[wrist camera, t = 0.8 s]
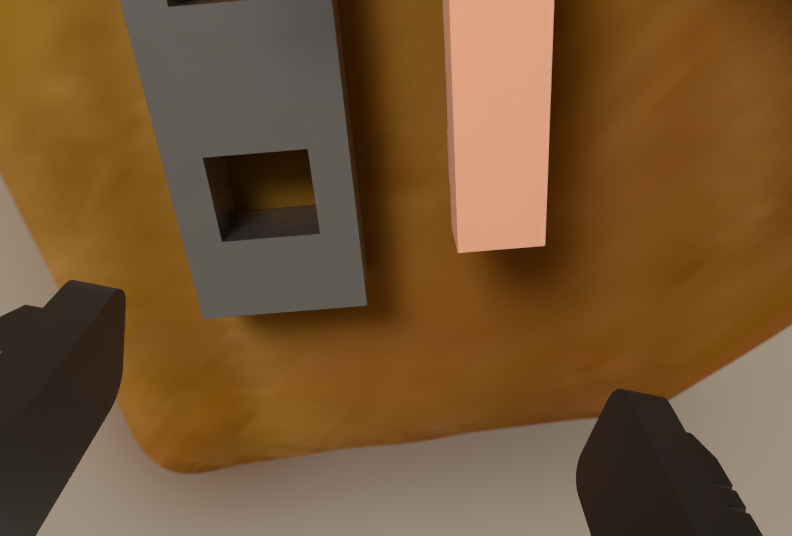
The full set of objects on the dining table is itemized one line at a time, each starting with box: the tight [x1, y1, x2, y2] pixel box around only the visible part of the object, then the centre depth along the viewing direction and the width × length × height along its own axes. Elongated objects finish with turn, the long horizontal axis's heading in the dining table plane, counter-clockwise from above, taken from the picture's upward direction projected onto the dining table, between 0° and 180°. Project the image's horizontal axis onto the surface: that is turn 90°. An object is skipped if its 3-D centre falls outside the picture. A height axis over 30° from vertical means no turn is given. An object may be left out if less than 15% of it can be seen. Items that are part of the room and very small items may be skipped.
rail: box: [120, 0, 368, 319], centre depth 27 cm, size 8×22×4 cm, turn 4°
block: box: [443, 0, 554, 253], centre depth 26 cm, size 4×14×6 cm, turn 4°
